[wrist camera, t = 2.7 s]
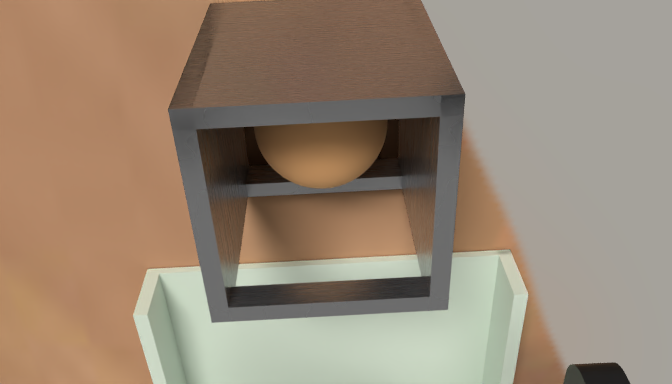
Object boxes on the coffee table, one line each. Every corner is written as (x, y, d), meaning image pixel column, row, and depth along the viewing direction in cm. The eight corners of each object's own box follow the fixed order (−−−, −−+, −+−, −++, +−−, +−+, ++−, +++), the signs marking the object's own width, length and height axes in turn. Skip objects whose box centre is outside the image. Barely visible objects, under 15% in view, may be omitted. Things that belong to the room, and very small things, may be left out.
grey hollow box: (210, 3, 19) (168, 109, 13) (417, -7, 19) (465, 93, 13) (236, 178, 23) (211, 322, 17) (412, 169, 23) (448, 309, 17)
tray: (147, 269, 25) (133, 315, 23) (509, 249, 25) (528, 294, 23) (190, 430, 30) (181, 479, 28) (486, 413, 30) (499, 461, 28)
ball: (251, 37, 20) (240, 93, 17) (380, 30, 20) (395, 85, 17) (264, 149, 22) (256, 218, 19) (380, 143, 22) (393, 211, 19)
